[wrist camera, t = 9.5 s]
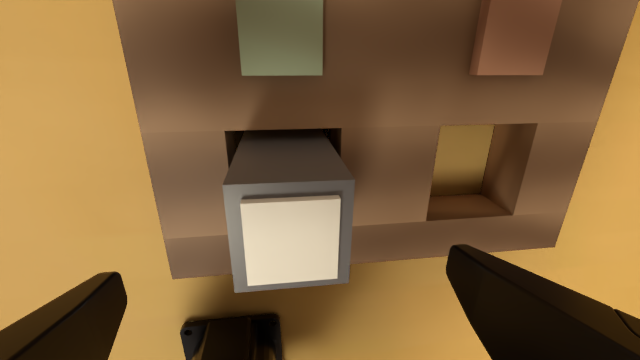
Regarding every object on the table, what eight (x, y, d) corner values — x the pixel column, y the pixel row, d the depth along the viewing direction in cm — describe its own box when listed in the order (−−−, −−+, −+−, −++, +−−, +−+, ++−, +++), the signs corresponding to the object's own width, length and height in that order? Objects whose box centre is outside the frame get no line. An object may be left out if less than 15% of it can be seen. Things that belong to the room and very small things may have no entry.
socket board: (517, 222, 21) (563, 252, 18) (187, 246, 18) (168, 287, 15) (583, -11, 16) (663, -29, 13) (137, -29, 13) (91, -59, 10)
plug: (319, 192, 18) (350, 288, 11) (250, 196, 18) (233, 299, 10) (319, 126, 17) (357, 183, 9) (245, 127, 16) (220, 189, 9)
